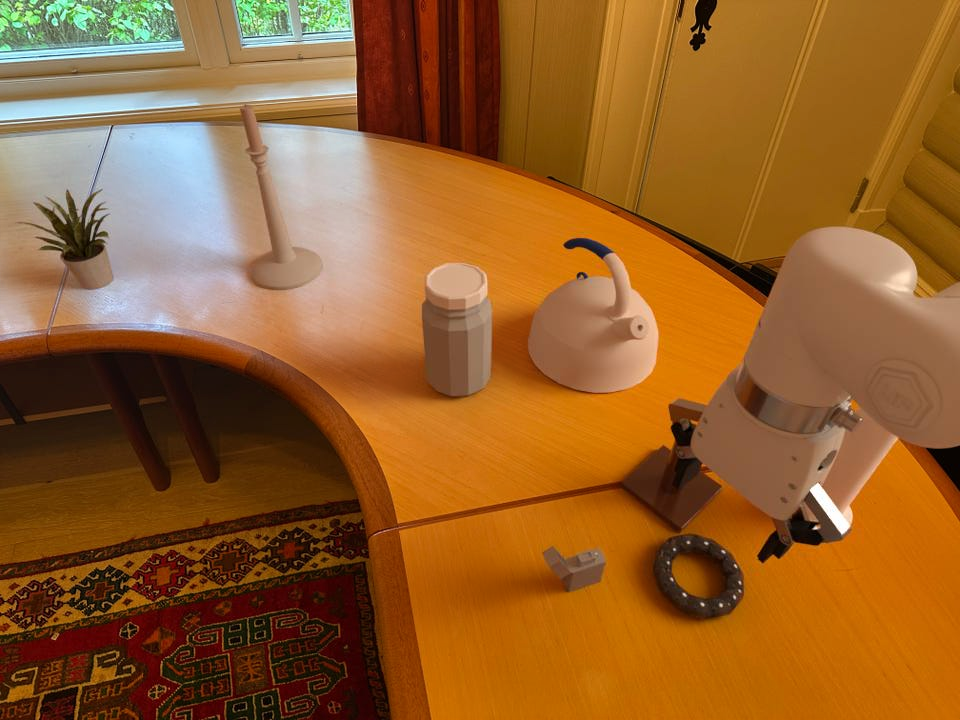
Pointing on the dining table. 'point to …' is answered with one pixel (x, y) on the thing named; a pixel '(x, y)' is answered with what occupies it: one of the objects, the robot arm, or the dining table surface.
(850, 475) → the candle
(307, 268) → the candlestick
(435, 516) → the dining table surface
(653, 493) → the square plate with peg
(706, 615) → the studded rubber donut
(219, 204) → the dining table surface
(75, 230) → the house plant
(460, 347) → the jar
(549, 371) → the kettle
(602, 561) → the lighter
